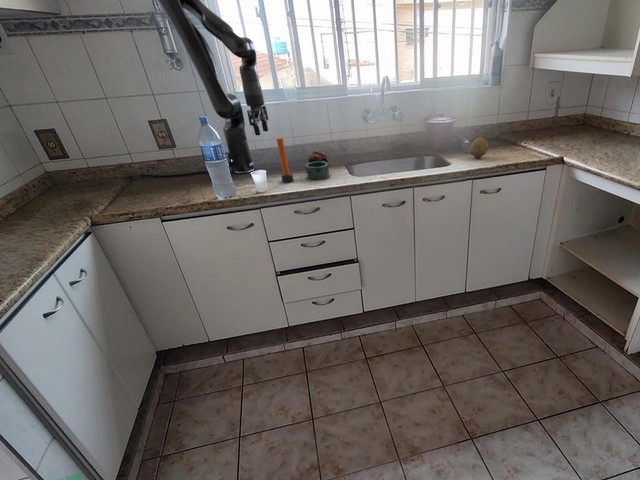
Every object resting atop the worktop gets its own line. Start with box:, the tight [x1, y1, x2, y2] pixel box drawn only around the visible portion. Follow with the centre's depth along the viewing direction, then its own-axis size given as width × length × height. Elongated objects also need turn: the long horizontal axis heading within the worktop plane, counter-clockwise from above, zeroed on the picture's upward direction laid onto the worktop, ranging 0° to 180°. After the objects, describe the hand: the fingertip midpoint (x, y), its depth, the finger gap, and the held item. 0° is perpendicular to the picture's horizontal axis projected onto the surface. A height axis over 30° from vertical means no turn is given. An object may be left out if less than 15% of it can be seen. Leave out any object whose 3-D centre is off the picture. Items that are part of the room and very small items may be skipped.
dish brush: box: [276, 137, 294, 184], centre depth 166 cm, size 5×5×18 cm
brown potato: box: [468, 137, 489, 159], centre depth 190 cm, size 9×9×10 cm
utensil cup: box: [305, 161, 330, 181], centre depth 173 cm, size 10×10×6 cm
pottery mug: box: [307, 150, 329, 164], centre depth 187 cm, size 12×10×8 cm
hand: (262, 133), depth 175 cm, fingers open, 8 cm apart
